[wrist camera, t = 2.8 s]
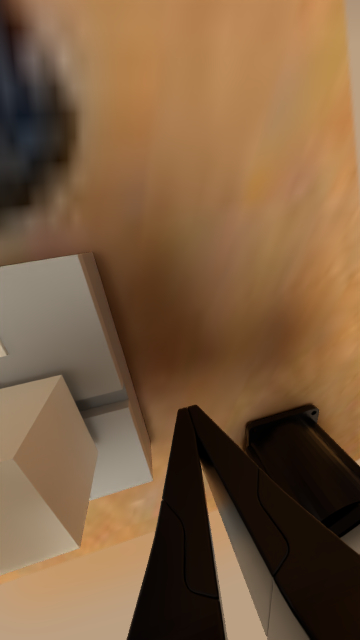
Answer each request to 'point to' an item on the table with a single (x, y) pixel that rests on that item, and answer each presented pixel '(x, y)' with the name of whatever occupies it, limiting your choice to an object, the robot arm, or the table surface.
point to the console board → (75, 359)
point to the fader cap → (42, 473)
